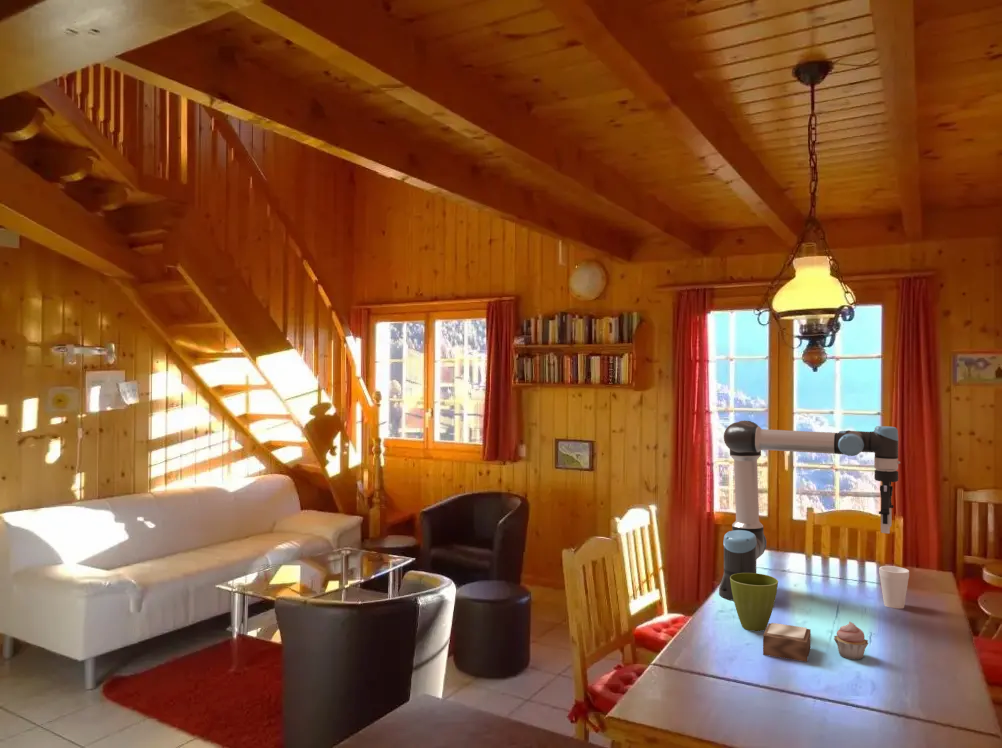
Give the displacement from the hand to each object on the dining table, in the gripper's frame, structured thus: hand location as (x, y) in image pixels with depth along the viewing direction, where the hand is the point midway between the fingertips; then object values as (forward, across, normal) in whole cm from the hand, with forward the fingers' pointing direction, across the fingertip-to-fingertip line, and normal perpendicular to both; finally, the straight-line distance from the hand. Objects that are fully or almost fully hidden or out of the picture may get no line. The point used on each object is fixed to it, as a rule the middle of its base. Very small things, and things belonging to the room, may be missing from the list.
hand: (886, 529), depth 261 cm
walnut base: (+28, -63, +23) cm, 72 cm away
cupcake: (+28, -57, +7) cm, 64 cm away
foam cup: (+28, +3, -2) cm, 28 cm away
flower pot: (+28, -46, +36) cm, 65 cm away
